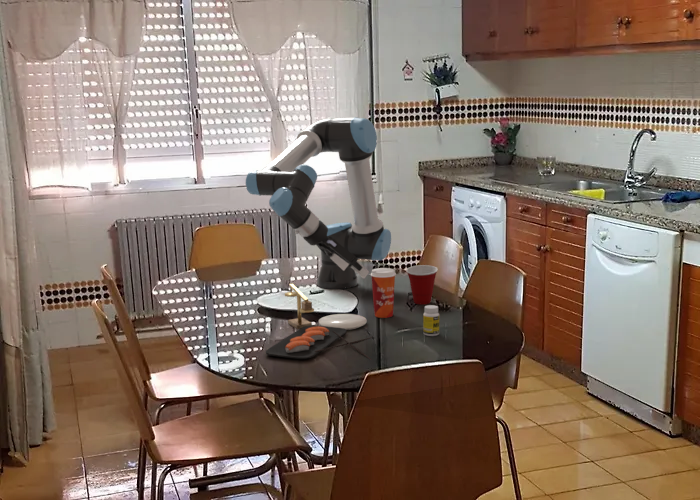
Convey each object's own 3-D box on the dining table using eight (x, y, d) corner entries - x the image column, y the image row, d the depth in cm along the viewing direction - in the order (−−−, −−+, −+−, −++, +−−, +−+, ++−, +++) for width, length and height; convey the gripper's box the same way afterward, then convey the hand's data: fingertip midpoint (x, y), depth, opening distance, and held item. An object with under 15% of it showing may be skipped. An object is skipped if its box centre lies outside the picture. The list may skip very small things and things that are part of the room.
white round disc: (311, 321, 254) (310, 318, 254) (352, 315, 261) (352, 311, 261) (331, 333, 241) (331, 330, 241) (375, 326, 248) (375, 322, 248)
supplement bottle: (434, 337, 236) (434, 309, 234) (420, 335, 238) (420, 307, 237) (441, 333, 240) (442, 305, 238) (427, 330, 242) (427, 303, 241)
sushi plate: (306, 330, 248) (306, 318, 247) (398, 339, 236) (398, 327, 236) (261, 359, 221) (260, 346, 221) (362, 371, 210) (362, 357, 209)
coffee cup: (378, 320, 255) (378, 274, 252) (366, 314, 262) (365, 269, 259) (401, 316, 258) (401, 271, 255) (388, 310, 266) (388, 266, 263)
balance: (282, 320, 257) (281, 283, 255) (297, 317, 259) (295, 281, 257) (302, 332, 243) (301, 294, 241) (317, 330, 245) (316, 292, 243)
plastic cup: (401, 304, 272) (400, 270, 270) (413, 297, 282) (413, 264, 279) (430, 308, 267) (430, 273, 265) (442, 300, 277) (442, 266, 274)
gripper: (287, 232, 253) (331, 272, 263) (320, 244, 231) (367, 288, 241) (302, 214, 254) (345, 255, 264) (336, 224, 232) (382, 269, 242)
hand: (356, 271), depth 252 cm, fingers open, 13 cm apart
